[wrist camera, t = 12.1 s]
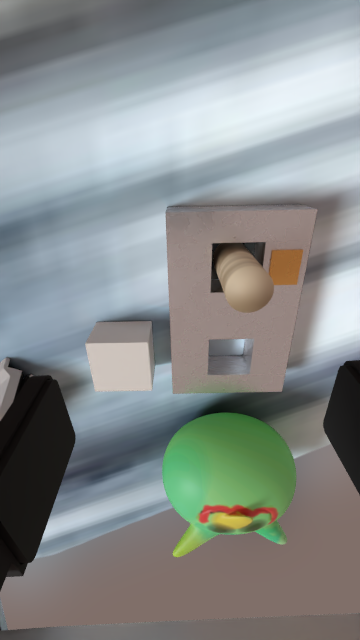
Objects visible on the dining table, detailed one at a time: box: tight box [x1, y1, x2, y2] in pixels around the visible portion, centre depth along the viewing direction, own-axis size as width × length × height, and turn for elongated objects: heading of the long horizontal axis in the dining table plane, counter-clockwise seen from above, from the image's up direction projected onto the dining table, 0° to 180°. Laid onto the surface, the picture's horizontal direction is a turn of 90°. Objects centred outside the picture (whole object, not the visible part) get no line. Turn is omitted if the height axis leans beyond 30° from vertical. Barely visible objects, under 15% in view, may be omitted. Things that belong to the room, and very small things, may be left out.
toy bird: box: [162, 413, 296, 557], centre depth 39 cm, size 18×17×15 cm
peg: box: [213, 243, 274, 313], centre depth 28 cm, size 4×4×10 cm
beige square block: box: [85, 321, 155, 391], centre depth 36 cm, size 7×7×5 cm
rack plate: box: [166, 204, 318, 394], centre depth 33 cm, size 22×14×4 cm, turn 1°
